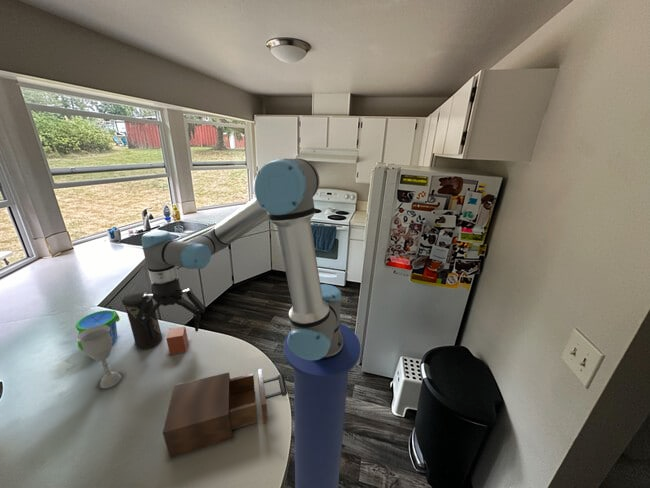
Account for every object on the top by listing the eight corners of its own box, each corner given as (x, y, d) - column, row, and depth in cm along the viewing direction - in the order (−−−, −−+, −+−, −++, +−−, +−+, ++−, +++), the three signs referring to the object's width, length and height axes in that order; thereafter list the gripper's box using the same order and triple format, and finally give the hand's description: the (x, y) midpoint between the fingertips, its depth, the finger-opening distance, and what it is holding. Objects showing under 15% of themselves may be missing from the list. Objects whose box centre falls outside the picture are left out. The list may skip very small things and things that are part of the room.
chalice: (88, 391, 72) (68, 341, 66) (107, 371, 79) (90, 324, 73) (114, 390, 73) (97, 341, 66) (131, 371, 79) (116, 325, 73)
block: (188, 341, 92) (185, 326, 90) (186, 351, 88) (182, 335, 85) (172, 344, 91) (169, 328, 88) (169, 354, 86) (166, 338, 84)
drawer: (282, 380, 77) (281, 363, 75) (289, 415, 67) (289, 397, 65) (218, 397, 71) (215, 379, 69) (215, 438, 61) (212, 419, 59)
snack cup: (99, 359, 83) (90, 335, 79) (68, 357, 83) (58, 333, 80) (134, 328, 98) (128, 306, 94) (108, 327, 98) (101, 305, 94)
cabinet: (232, 394, 73) (229, 372, 70) (232, 438, 62) (228, 414, 59) (179, 407, 69) (174, 384, 66) (169, 457, 58) (162, 433, 55)
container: (142, 353, 86) (128, 304, 79) (130, 343, 90) (115, 295, 84) (168, 338, 93) (157, 292, 86) (155, 329, 97) (144, 285, 90)
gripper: (112, 290, 72) (128, 347, 80) (206, 279, 80) (213, 332, 88) (122, 278, 79) (136, 332, 86) (208, 269, 87) (215, 319, 94)
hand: (175, 332), depth 87 cm, fingers open, 13 cm apart
